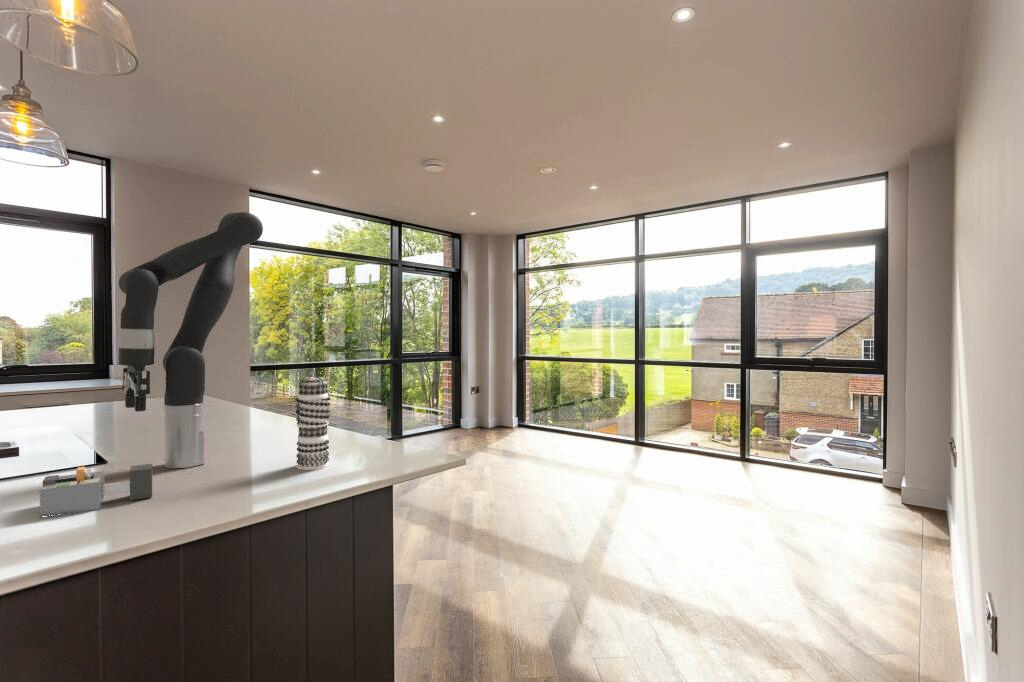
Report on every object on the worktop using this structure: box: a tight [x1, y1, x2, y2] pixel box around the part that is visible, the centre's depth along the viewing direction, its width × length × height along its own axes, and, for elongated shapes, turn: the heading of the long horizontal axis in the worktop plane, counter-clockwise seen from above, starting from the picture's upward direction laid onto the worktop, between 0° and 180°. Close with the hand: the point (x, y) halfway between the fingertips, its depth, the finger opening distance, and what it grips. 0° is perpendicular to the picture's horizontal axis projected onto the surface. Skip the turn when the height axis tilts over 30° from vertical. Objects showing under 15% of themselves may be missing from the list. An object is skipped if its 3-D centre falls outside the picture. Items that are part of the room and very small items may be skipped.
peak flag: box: [75, 466, 86, 481], centre depth 111 cm, size 1×3×7 cm, turn 34°
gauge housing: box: [39, 470, 106, 518], centre depth 110 cm, size 10×10×7 cm
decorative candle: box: [294, 376, 331, 471], centre depth 144 cm, size 9×9×25 cm
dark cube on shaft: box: [86, 463, 153, 501], centre depth 115 cm, size 12×5×8 cm, turn 124°
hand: (135, 409), depth 132 cm, fingers open, 8 cm apart
